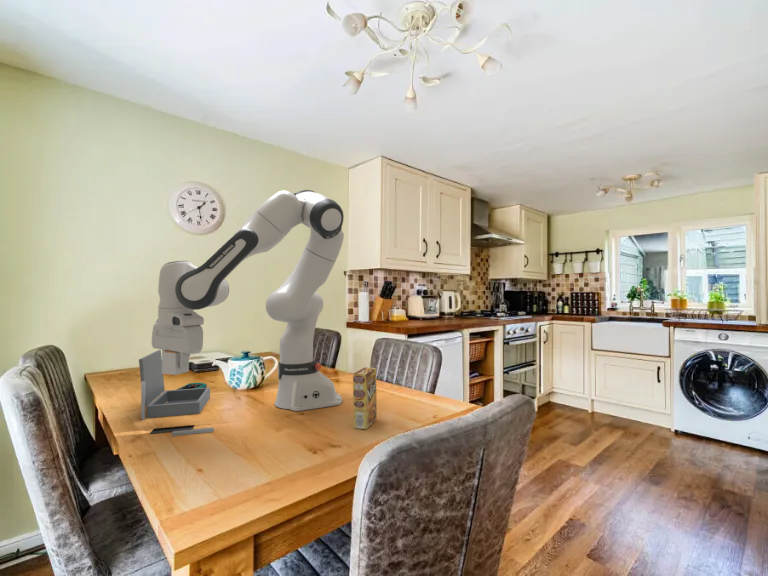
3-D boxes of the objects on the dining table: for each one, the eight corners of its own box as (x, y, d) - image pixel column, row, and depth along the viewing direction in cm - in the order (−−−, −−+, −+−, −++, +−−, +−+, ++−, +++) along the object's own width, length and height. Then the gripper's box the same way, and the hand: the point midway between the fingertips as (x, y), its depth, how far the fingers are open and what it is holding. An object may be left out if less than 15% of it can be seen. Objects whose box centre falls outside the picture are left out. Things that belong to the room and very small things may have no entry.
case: (210, 400, 129) (210, 366, 129) (198, 418, 110) (198, 378, 110) (161, 404, 125) (161, 368, 125) (140, 423, 106) (140, 382, 106)
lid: (160, 349, 125) (156, 350, 125) (141, 359, 108) (137, 359, 107) (164, 390, 125) (160, 391, 125) (146, 406, 108) (141, 407, 108)
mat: (198, 418, 111) (198, 416, 111) (191, 430, 101) (191, 428, 101) (161, 421, 108) (161, 420, 108) (150, 434, 98) (150, 432, 98)
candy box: (366, 430, 101) (366, 374, 101) (352, 428, 102) (352, 373, 102) (377, 419, 109) (377, 367, 109) (363, 418, 110) (363, 366, 111)
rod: (213, 431, 101) (213, 427, 101) (213, 433, 100) (213, 428, 100) (172, 435, 98) (173, 431, 98) (171, 437, 97) (171, 432, 97)
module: (188, 371, 106) (188, 350, 106) (175, 375, 102) (175, 352, 102) (175, 370, 108) (175, 349, 108) (161, 373, 103) (162, 351, 103)
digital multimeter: (207, 389, 145) (207, 382, 145) (187, 400, 130) (187, 392, 130) (189, 389, 145) (189, 382, 145) (166, 400, 131) (166, 392, 131)
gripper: (145, 317, 108) (145, 364, 108) (185, 320, 97) (184, 372, 97) (167, 315, 113) (167, 361, 113) (207, 318, 102) (207, 368, 102)
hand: (175, 366), depth 105 cm, fingers closed on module, 5 cm apart
